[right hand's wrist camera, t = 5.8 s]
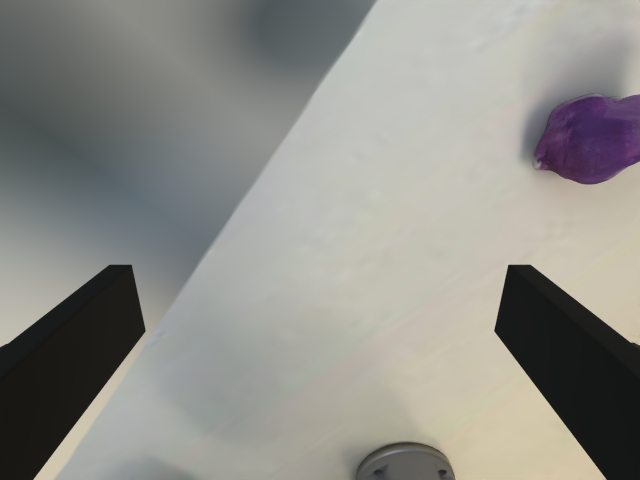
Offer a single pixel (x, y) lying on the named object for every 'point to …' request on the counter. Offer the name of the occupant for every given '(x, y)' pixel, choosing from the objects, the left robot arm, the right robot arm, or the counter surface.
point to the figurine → (591, 138)
